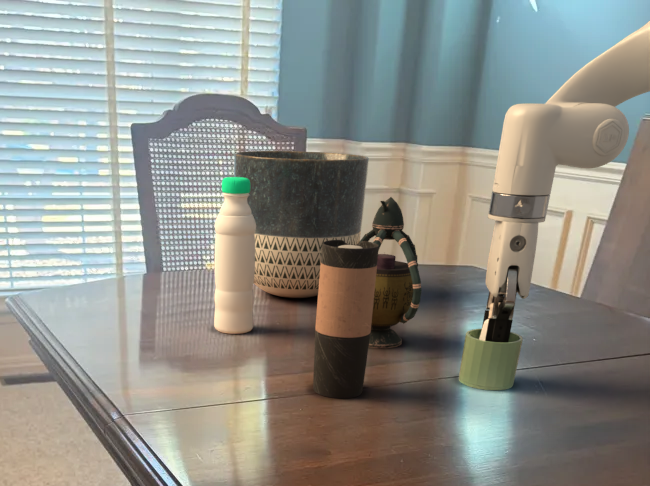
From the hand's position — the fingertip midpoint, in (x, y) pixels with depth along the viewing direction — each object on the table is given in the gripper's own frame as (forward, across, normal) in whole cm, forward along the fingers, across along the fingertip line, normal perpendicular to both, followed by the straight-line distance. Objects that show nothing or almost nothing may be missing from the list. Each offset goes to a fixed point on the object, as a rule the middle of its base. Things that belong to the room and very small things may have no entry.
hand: (493, 341), depth 113 cm
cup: (+6, 0, 0) cm, 6 cm away
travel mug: (+6, -9, +22) cm, 25 cm away
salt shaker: (+6, 0, 0) cm, 6 cm away
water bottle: (+6, +21, +42) cm, 47 cm away
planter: (+6, +53, +34) cm, 63 cm away
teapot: (+6, +23, +17) cm, 29 cm away
